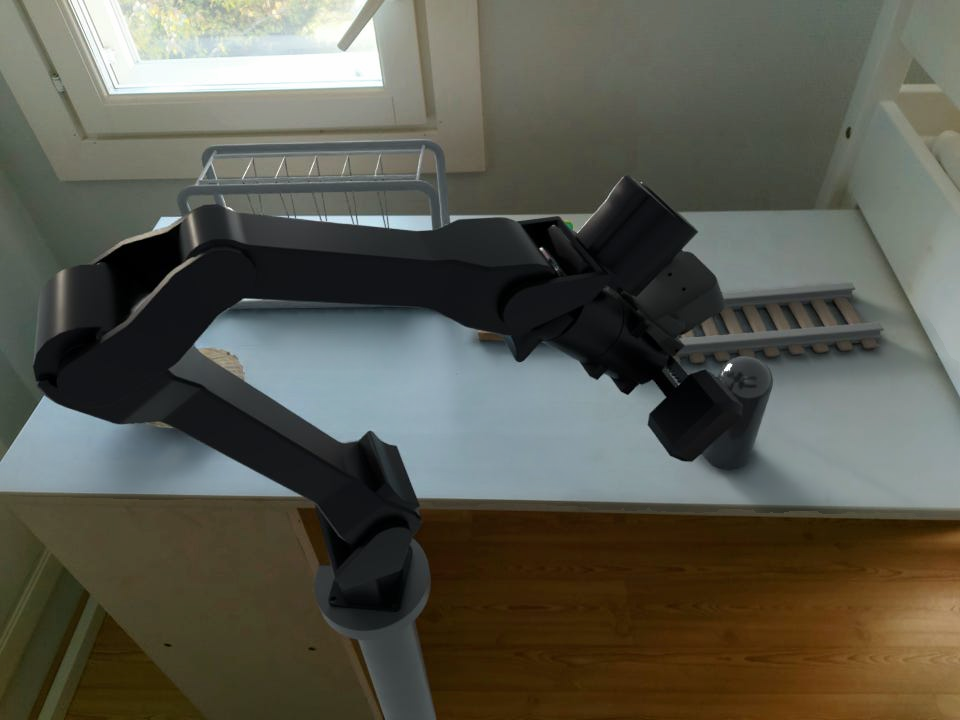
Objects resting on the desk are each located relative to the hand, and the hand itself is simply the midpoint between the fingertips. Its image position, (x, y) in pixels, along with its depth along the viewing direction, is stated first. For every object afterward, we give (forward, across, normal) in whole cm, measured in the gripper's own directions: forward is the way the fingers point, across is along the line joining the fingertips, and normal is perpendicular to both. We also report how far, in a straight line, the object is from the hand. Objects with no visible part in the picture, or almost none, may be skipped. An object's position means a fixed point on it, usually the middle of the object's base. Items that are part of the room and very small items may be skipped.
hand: (697, 385), depth 67 cm
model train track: (+20, +16, -3) cm, 26 cm away
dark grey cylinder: (+12, 0, +5) cm, 13 cm away
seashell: (-24, +29, +40) cm, 55 cm away
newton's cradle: (-9, +44, +26) cm, 52 cm away
